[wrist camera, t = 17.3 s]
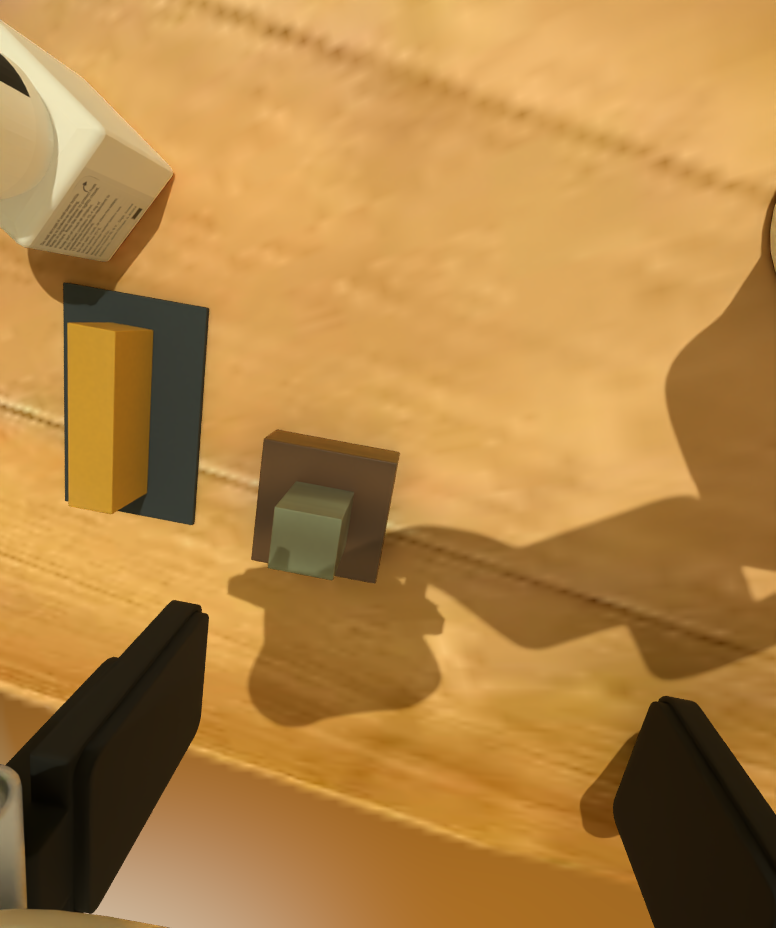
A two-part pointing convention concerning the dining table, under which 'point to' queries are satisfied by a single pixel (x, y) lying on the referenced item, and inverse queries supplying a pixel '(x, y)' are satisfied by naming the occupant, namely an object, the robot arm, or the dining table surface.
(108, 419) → the bar
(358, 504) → the square knob plate
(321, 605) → the dining table surface
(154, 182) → the container
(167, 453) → the mat
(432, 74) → the dining table surface
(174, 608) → the robot arm
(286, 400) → the dining table surface
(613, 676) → the dining table surface
